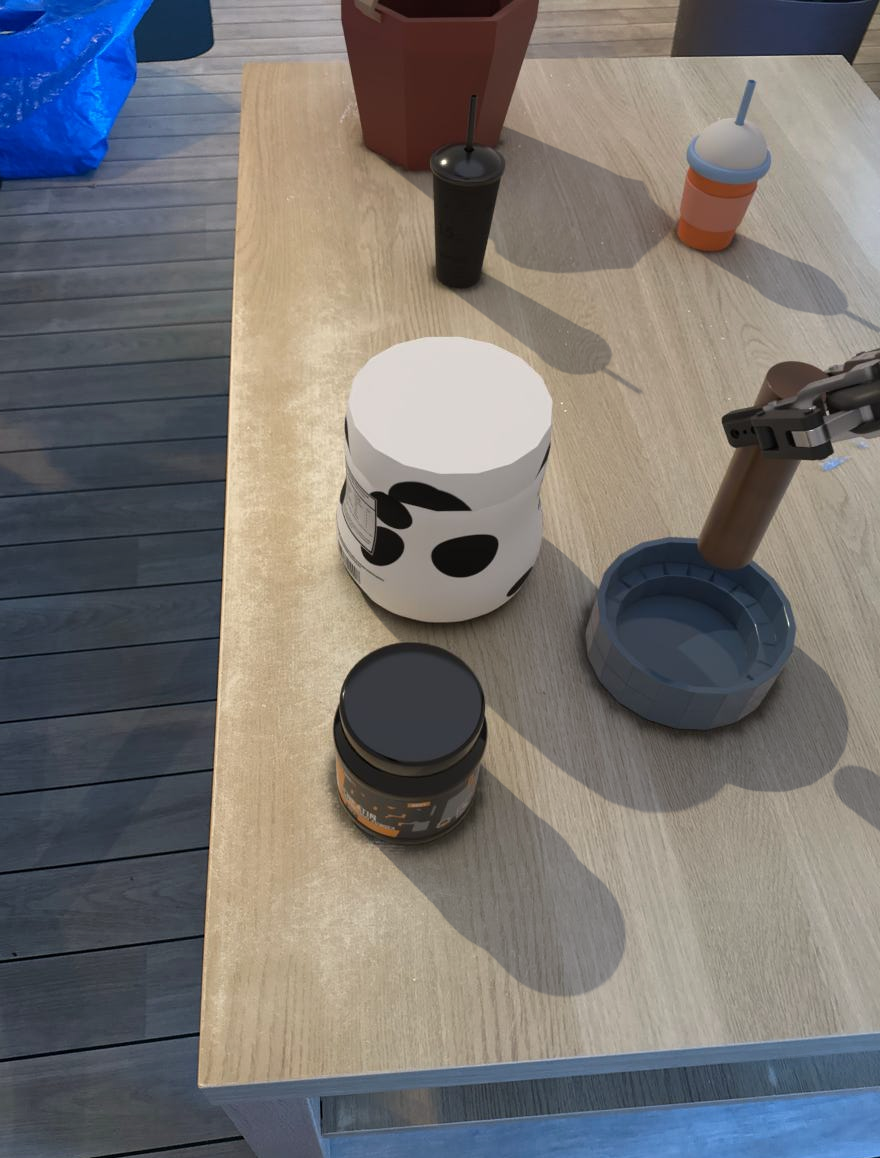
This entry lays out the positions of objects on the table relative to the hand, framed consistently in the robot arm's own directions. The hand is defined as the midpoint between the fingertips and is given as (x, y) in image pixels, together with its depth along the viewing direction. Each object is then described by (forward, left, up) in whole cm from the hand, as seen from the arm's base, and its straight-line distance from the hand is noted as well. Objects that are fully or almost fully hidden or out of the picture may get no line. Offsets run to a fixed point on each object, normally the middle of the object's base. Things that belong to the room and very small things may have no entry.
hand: (754, 415), depth 63 cm
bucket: (+20, -77, -25) cm, 84 cm away
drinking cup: (+17, -48, -25) cm, 57 cm away
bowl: (-1, +2, -24) cm, 24 cm away
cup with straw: (-12, -58, -25) cm, 65 cm away
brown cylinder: (-1, +2, -11) cm, 11 cm away
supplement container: (+21, +15, -25) cm, 35 cm away
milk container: (+19, -7, -25) cm, 32 cm away
